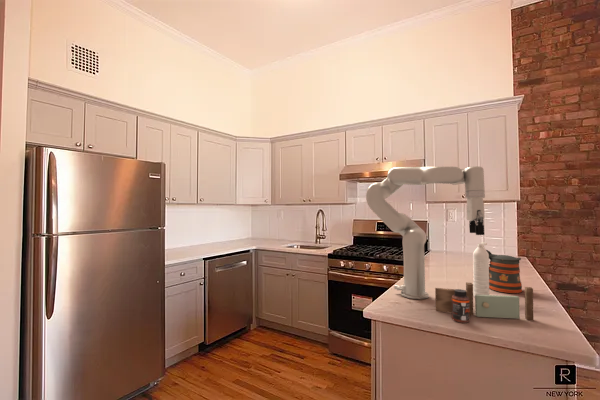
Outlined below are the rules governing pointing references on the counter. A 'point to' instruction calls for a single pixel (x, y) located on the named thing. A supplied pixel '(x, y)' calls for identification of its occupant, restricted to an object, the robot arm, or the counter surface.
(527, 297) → the wall frame
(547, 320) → the counter surface
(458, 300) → the supplement bottle
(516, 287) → the beer stein
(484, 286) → the water bottle
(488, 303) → the door leaf
